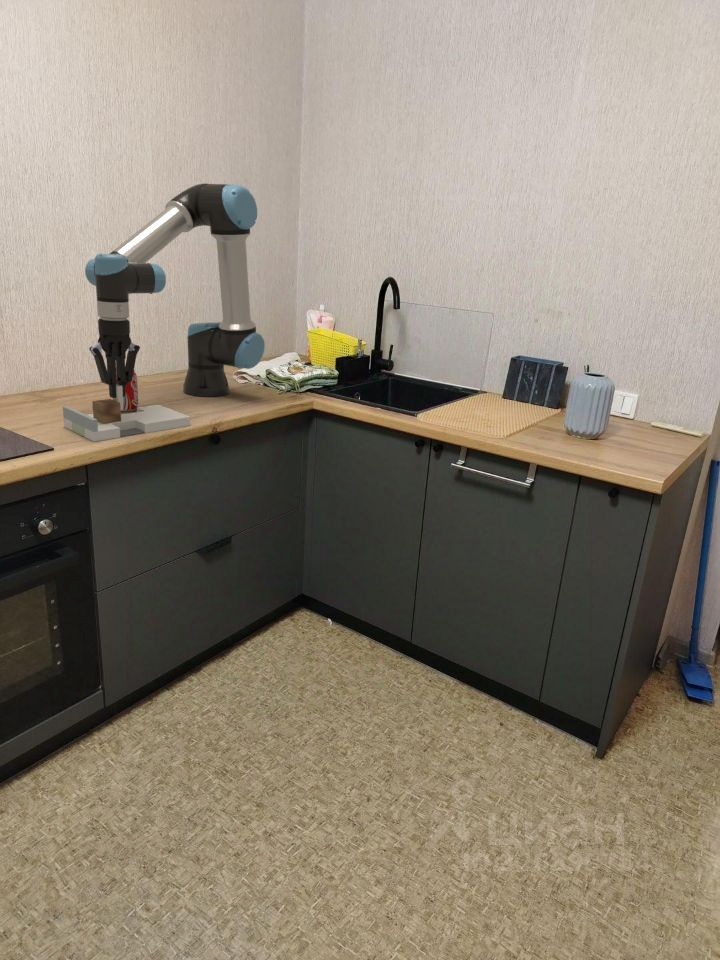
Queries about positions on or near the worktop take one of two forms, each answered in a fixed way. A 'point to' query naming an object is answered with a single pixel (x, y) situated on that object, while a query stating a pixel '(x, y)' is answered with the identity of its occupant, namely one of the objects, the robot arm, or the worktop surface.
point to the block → (106, 411)
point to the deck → (124, 422)
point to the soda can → (130, 395)
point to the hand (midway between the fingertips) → (118, 409)
